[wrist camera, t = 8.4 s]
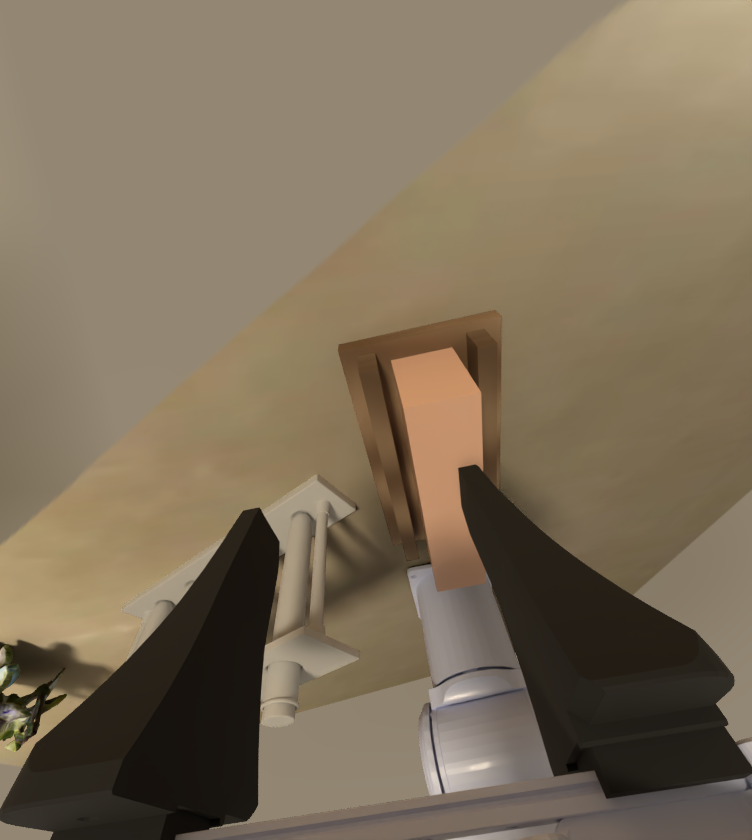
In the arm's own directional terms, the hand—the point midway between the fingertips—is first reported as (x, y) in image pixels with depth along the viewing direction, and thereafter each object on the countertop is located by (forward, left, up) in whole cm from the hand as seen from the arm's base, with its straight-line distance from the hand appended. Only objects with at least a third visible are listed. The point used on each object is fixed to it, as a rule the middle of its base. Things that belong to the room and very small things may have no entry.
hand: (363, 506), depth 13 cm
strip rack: (-7, -4, -10) cm, 13 cm away
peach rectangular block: (-7, -4, -9) cm, 12 cm away
